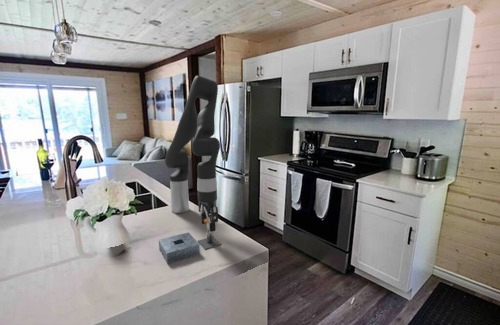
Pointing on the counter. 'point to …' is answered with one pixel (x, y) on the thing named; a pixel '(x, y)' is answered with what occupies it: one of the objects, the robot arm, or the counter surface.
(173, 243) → the block
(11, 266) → the counter surface
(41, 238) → the counter surface
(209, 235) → the chuck key
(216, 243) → the mat
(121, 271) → the counter surface
